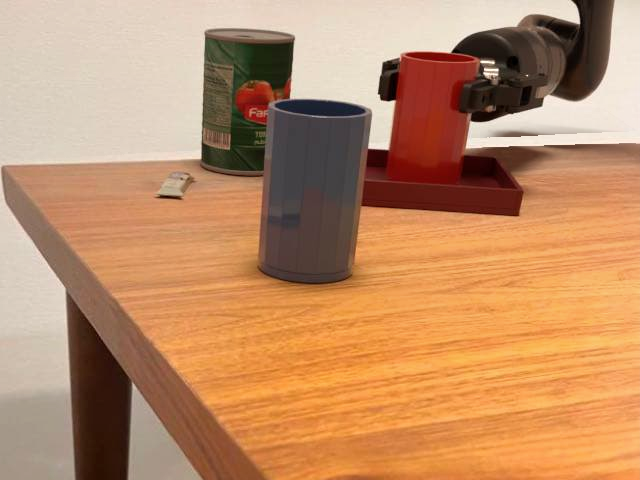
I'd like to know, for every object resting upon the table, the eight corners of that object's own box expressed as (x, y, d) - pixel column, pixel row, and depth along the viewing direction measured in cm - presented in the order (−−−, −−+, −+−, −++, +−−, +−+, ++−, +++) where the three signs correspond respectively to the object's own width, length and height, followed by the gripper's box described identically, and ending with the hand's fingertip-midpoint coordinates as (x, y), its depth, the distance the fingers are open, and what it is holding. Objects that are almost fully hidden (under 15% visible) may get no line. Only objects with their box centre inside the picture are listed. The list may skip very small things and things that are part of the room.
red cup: (453, 176, 87) (474, 53, 82) (462, 194, 82) (485, 64, 76) (382, 172, 87) (398, 49, 82) (386, 190, 82) (403, 60, 77)
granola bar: (181, 191, 78) (146, 185, 79) (180, 206, 79) (145, 200, 79) (205, 171, 84) (172, 166, 84) (204, 185, 84) (171, 179, 85)
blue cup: (351, 256, 68) (369, 102, 62) (354, 286, 62) (374, 120, 57) (260, 250, 68) (270, 96, 63) (255, 279, 63) (266, 113, 57)
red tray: (494, 179, 90) (498, 156, 89) (518, 215, 79) (524, 190, 78) (335, 169, 91) (337, 146, 89) (338, 203, 80) (340, 178, 79)
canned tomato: (218, 153, 94) (224, 25, 88) (296, 163, 92) (307, 33, 86) (186, 169, 88) (190, 32, 82) (268, 180, 85) (278, 41, 79)
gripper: (434, 20, 92) (351, 32, 80) (585, 36, 85) (518, 52, 74) (422, 105, 96) (341, 128, 84) (564, 127, 89) (498, 156, 78)
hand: (424, 93), depth 79 cm, fingers closed on red cup, 6 cm apart
